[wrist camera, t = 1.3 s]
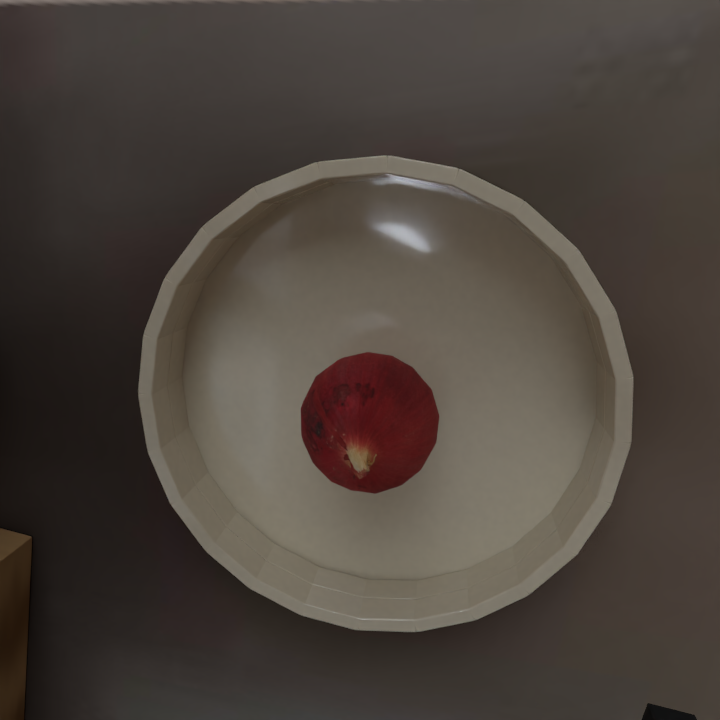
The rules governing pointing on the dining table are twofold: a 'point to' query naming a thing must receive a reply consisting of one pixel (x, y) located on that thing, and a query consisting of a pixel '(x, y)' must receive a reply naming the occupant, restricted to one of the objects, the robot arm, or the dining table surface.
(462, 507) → the cream bowl
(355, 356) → the onion
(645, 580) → the dining table surface
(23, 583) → the stand
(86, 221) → the dining table surface
